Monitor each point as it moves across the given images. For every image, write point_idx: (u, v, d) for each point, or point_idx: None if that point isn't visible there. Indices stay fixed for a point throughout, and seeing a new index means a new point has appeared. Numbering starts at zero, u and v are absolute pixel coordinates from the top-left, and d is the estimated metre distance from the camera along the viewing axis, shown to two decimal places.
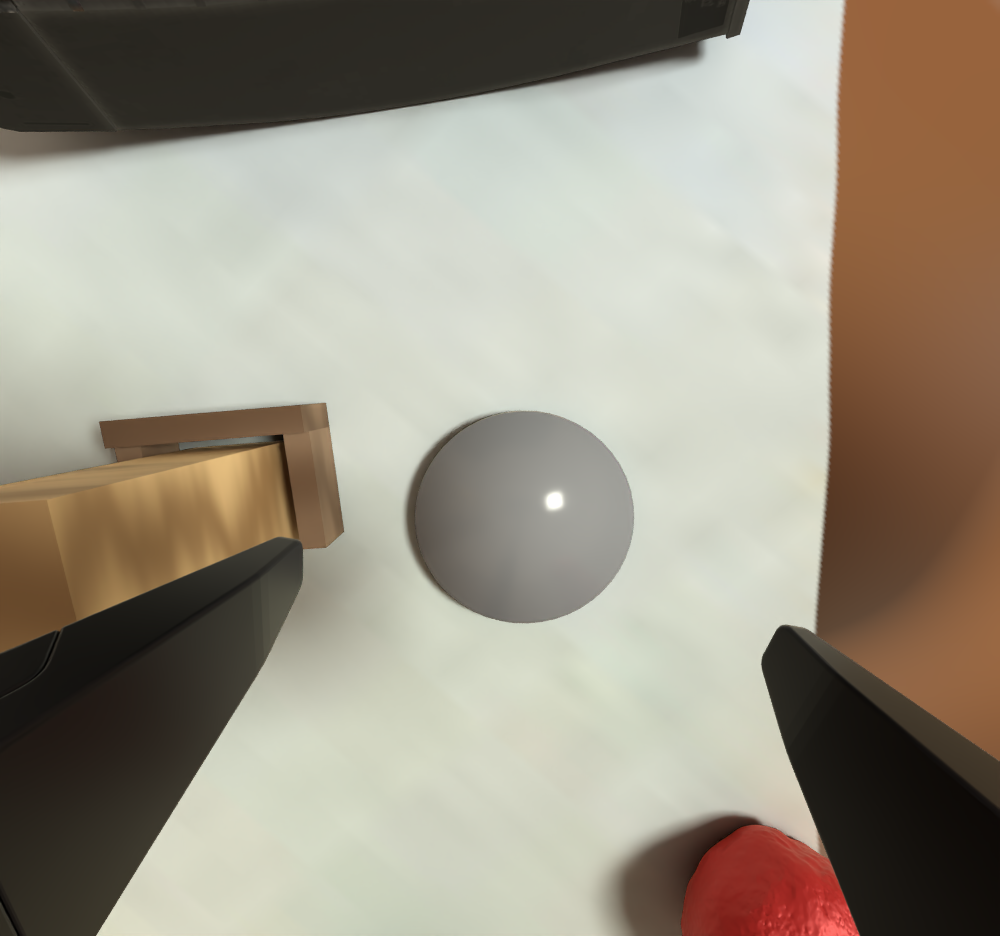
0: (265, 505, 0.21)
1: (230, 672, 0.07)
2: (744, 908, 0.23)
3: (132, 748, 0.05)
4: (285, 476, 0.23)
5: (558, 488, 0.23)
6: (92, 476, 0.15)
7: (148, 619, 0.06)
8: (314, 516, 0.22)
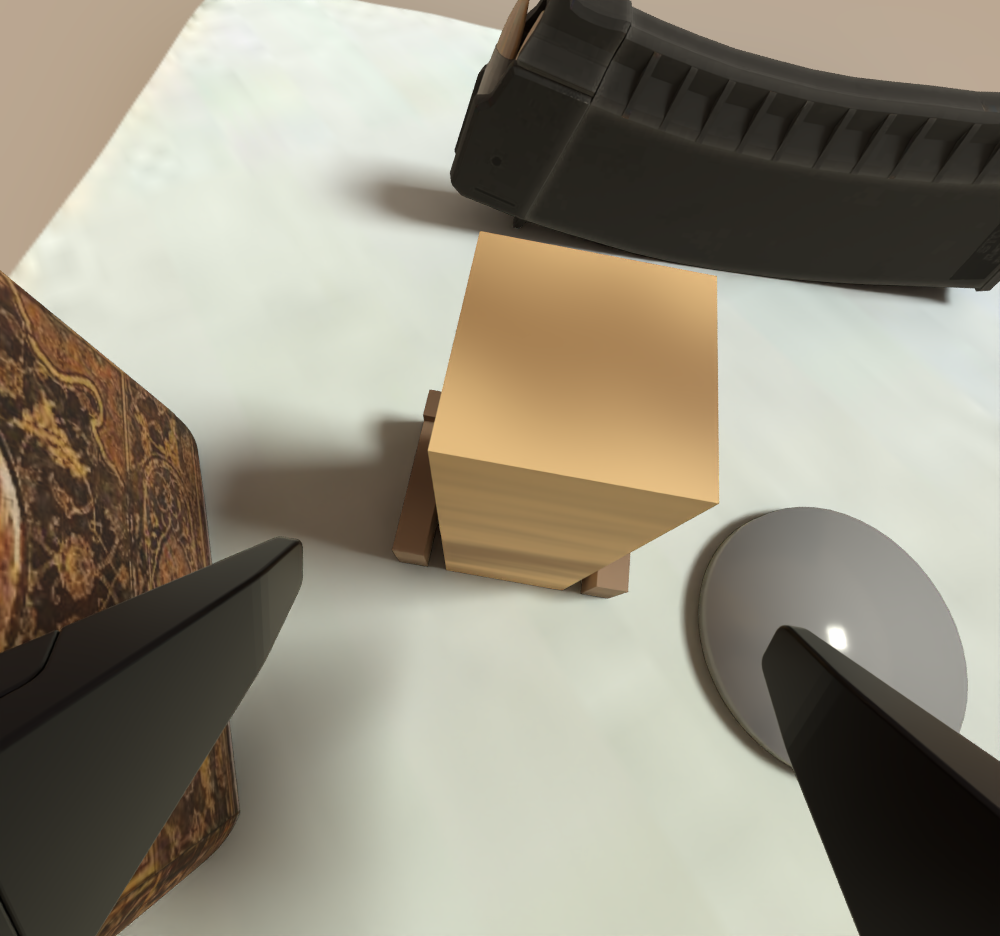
0: None
1: (230, 672, 0.07)
2: None
3: (132, 748, 0.05)
4: None
5: (874, 604, 0.20)
6: None
7: (148, 619, 0.06)
8: None
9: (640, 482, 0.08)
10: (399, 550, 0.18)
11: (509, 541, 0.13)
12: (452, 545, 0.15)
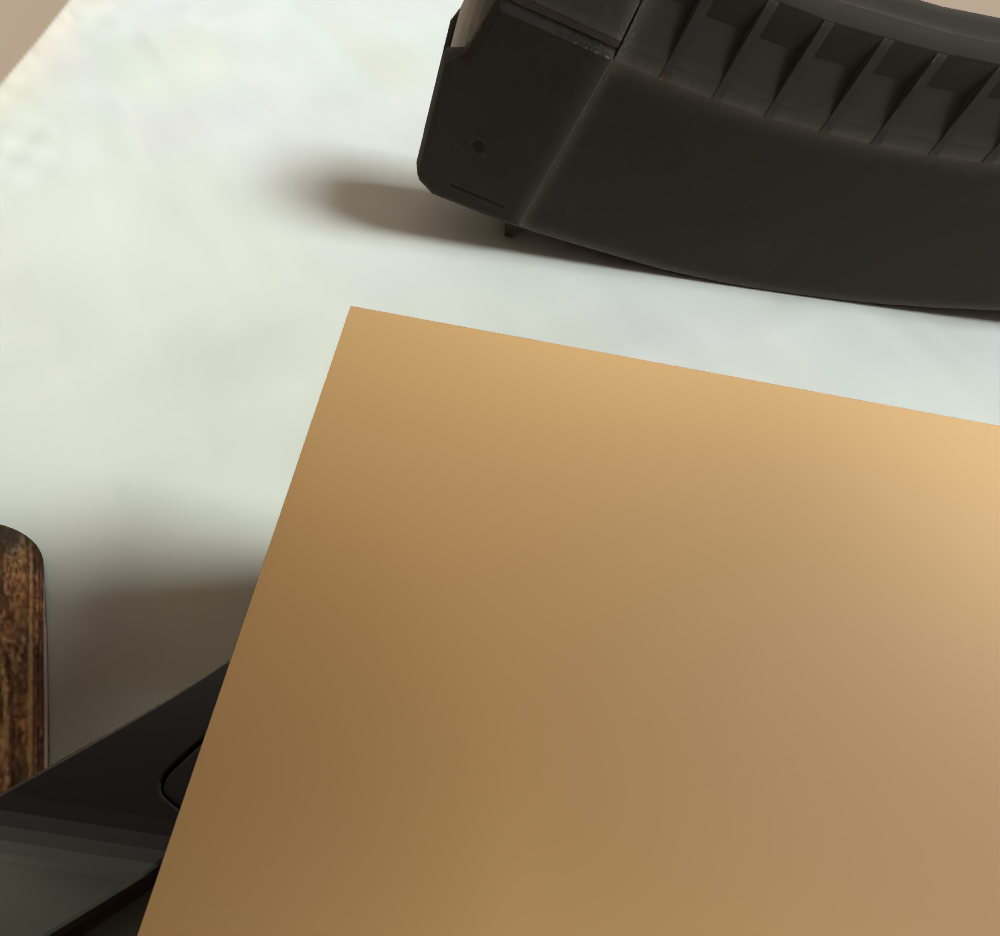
0: None
1: None
2: None
3: None
4: None
5: None
6: None
7: None
8: None
9: None
10: None
11: None
12: None
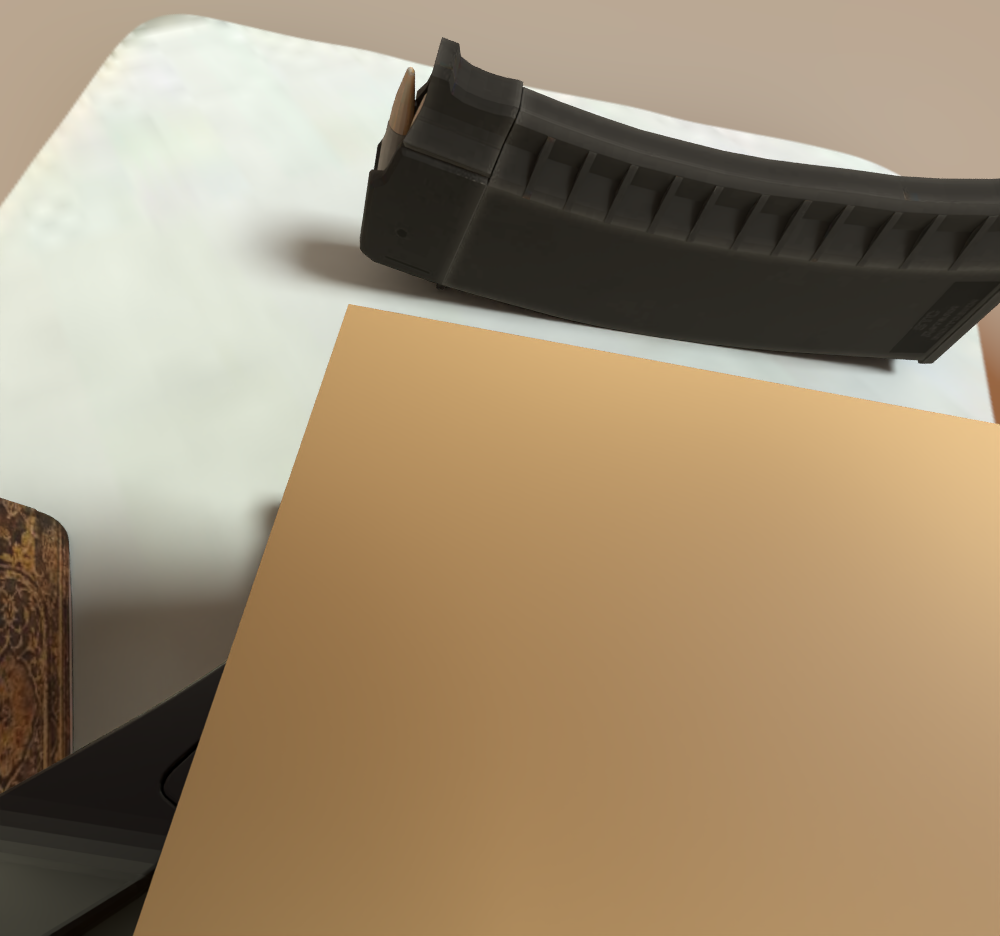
0: None
1: None
2: None
3: None
4: None
5: None
6: None
7: None
8: None
9: None
10: None
11: None
12: None
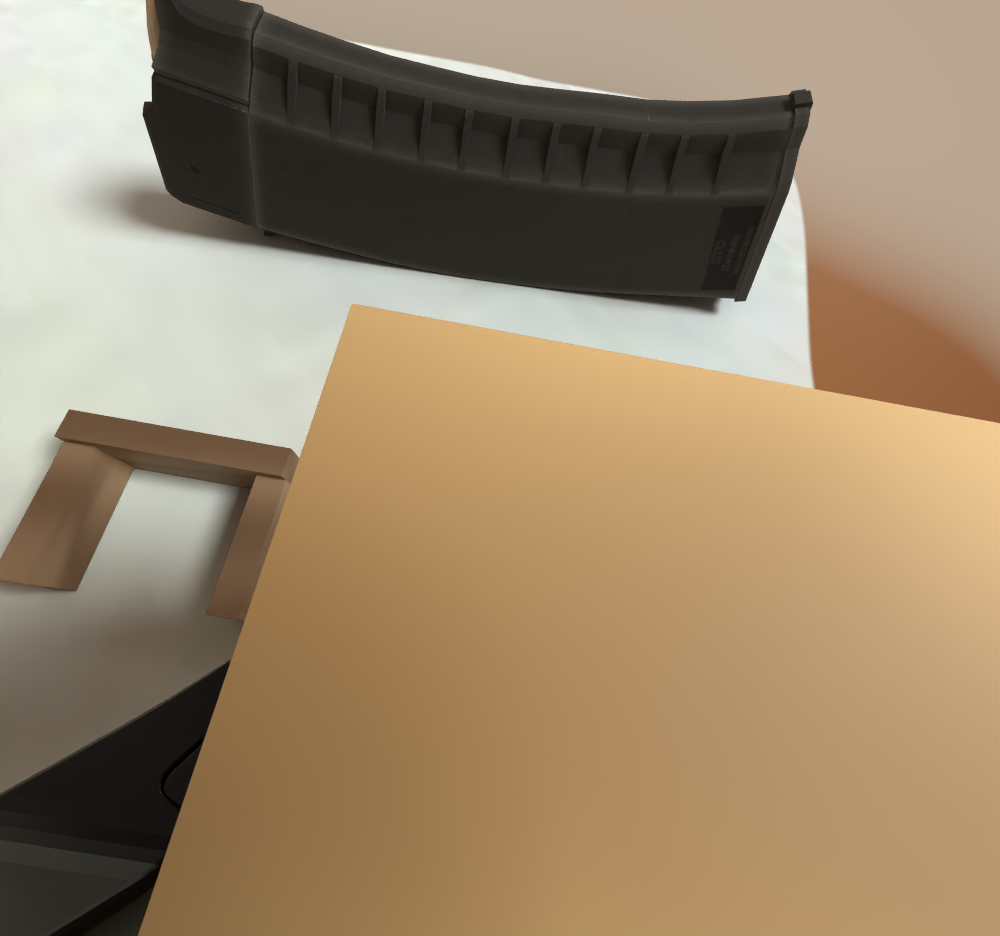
0: None
1: None
2: None
3: None
4: None
5: None
6: None
7: None
8: (243, 576, 0.18)
9: None
10: None
11: None
12: None
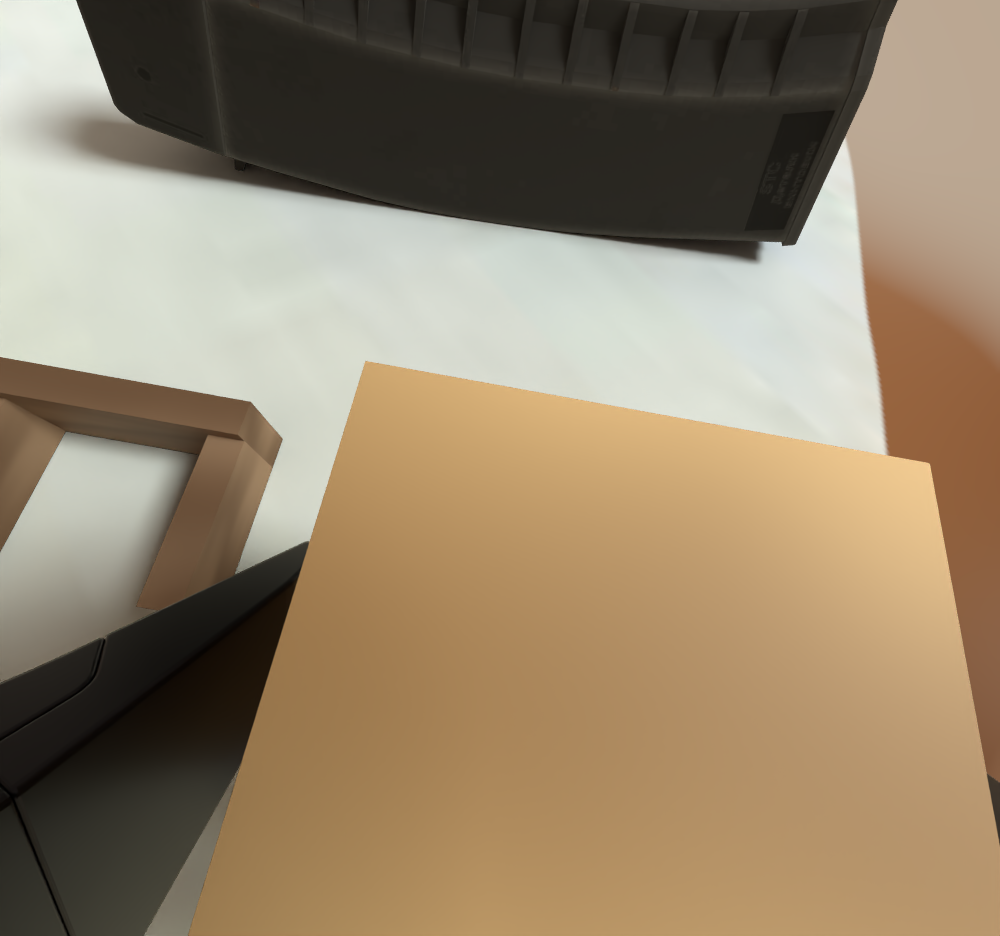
0: None
1: (264, 678, 0.07)
2: None
3: (176, 755, 0.05)
4: None
5: None
6: None
7: (190, 626, 0.06)
8: (186, 558, 0.14)
9: None
10: None
11: None
12: None
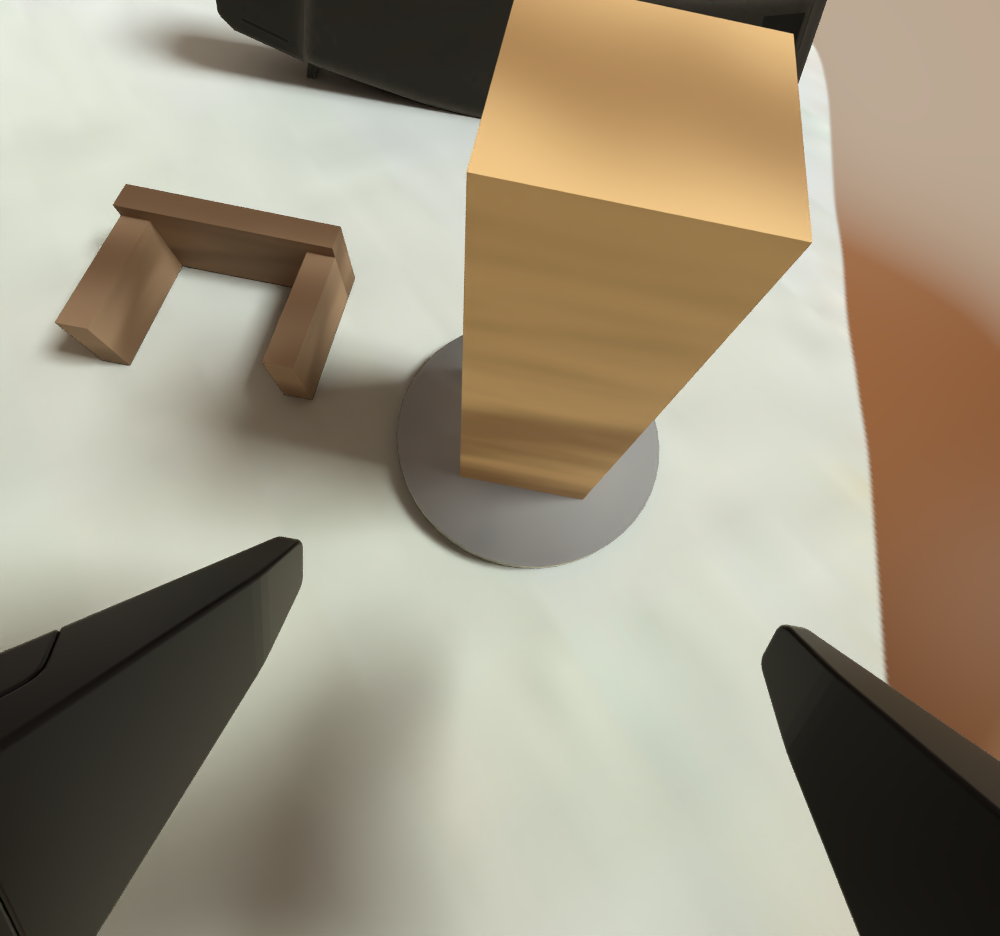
0: None
1: (230, 672, 0.07)
2: None
3: (132, 748, 0.05)
4: None
5: None
6: None
7: (148, 619, 0.06)
8: (297, 333, 0.18)
9: (717, 217, 0.07)
10: (62, 322, 0.18)
11: (538, 394, 0.12)
12: (472, 417, 0.14)
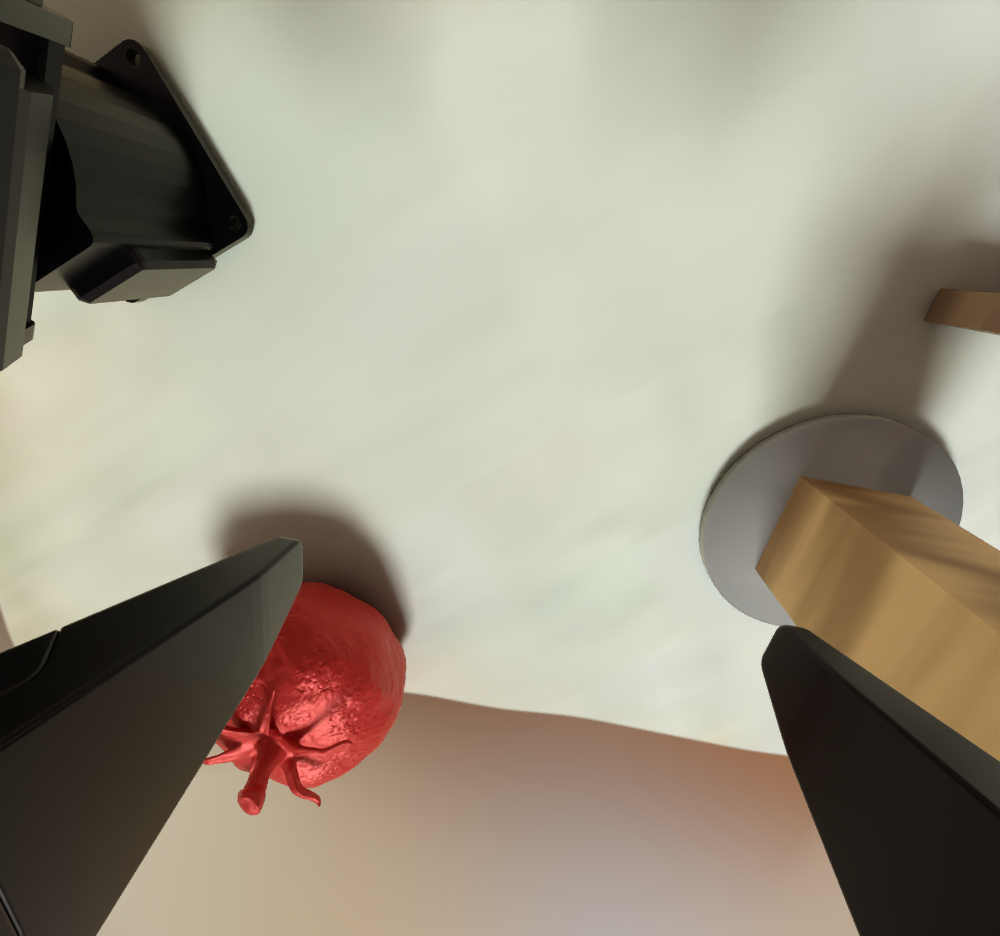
0: None
1: (230, 672, 0.07)
2: (375, 675, 0.22)
3: (132, 748, 0.05)
4: None
5: None
6: None
7: (148, 619, 0.06)
8: None
9: None
10: None
11: (900, 634, 0.14)
12: (881, 552, 0.16)
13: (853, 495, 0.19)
